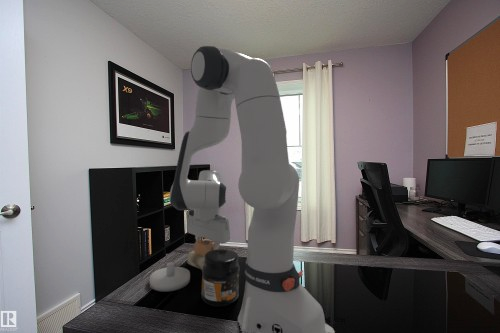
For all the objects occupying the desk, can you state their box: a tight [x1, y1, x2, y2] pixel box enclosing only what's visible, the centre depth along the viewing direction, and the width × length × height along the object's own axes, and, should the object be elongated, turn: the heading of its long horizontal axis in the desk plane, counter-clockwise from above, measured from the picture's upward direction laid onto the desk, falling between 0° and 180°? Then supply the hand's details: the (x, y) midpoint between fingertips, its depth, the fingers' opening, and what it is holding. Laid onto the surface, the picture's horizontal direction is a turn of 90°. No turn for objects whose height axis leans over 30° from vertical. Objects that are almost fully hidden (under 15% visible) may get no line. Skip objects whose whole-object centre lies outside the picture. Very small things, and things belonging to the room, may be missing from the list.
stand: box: [187, 240, 211, 271], centre depth 89 cm, size 10×10×8 cm
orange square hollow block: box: [193, 238, 221, 256], centre depth 89 cm, size 7×7×4 cm
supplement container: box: [201, 248, 241, 308], centre depth 66 cm, size 10×10×12 cm
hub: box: [149, 261, 191, 292], centre depth 74 cm, size 12×12×6 cm
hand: (207, 249), depth 89 cm, fingers closed on orange square hollow block, 7 cm apart
